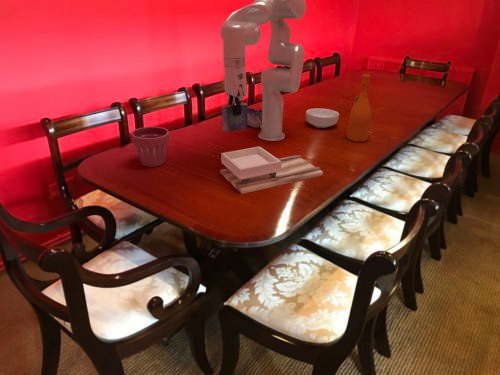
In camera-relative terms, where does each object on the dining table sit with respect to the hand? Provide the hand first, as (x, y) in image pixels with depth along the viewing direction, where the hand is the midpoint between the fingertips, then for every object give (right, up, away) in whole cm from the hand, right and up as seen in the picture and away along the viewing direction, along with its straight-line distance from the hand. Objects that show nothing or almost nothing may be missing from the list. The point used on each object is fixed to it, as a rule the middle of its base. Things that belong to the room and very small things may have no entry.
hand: (234, 113), depth 142 cm
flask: (0, -6, +3) cm, 7 cm away
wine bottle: (+56, -5, +39) cm, 68 cm away
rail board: (+14, -23, +3) cm, 27 cm away
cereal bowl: (+43, +4, +57) cm, 71 cm away
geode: (+9, +4, +56) cm, 56 cm away
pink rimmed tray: (+6, -22, -2) cm, 23 cm away
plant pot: (-33, -18, +12) cm, 39 cm away
